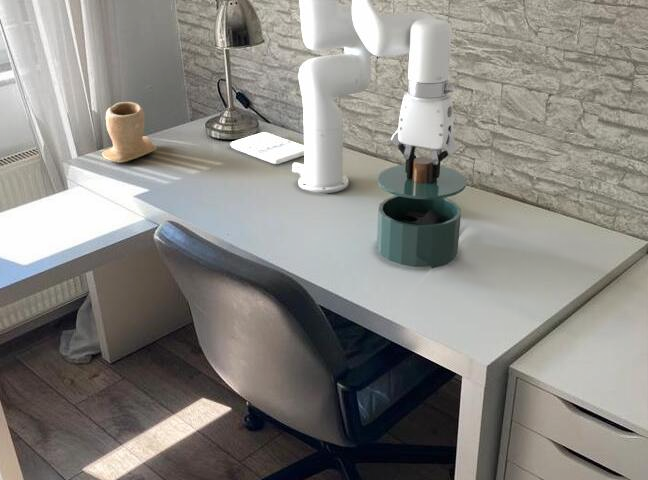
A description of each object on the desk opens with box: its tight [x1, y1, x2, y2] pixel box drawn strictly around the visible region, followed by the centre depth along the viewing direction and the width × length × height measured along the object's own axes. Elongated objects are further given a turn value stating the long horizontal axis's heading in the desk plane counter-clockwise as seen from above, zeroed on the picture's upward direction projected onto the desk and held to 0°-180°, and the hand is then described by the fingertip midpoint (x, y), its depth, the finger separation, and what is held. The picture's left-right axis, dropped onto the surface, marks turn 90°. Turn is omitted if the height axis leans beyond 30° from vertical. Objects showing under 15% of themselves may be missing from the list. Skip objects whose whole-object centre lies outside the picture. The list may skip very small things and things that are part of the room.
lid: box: [377, 156, 468, 199], centre depth 159 cm, size 18×18×5 cm
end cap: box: [401, 210, 442, 225], centre depth 167 cm, size 10×7×7 cm
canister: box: [376, 195, 462, 269], centre depth 166 cm, size 17×17×10 cm
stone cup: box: [101, 101, 157, 163], centre depth 215 cm, size 15×12×15 cm
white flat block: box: [230, 131, 304, 165], centre depth 222 cm, size 13×20×2 cm, turn 44°
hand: (422, 177), depth 160 cm, fingers closed on lid, 4 cm apart
